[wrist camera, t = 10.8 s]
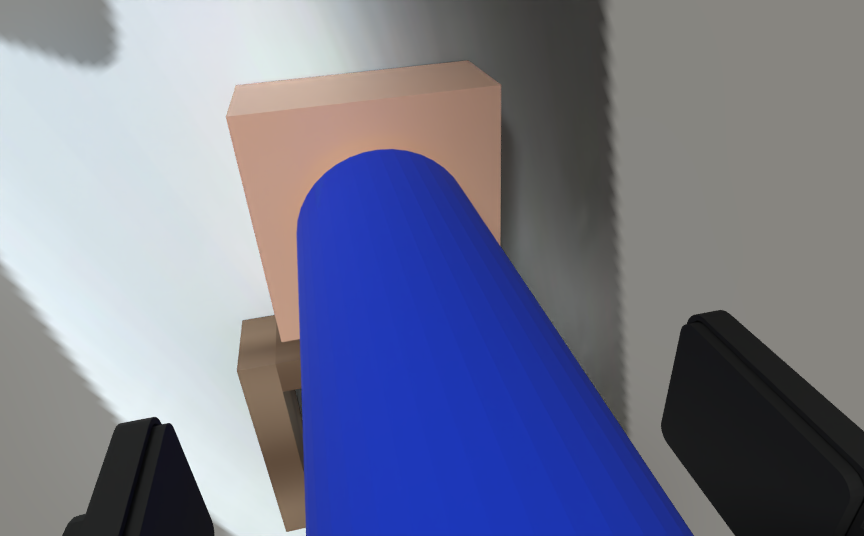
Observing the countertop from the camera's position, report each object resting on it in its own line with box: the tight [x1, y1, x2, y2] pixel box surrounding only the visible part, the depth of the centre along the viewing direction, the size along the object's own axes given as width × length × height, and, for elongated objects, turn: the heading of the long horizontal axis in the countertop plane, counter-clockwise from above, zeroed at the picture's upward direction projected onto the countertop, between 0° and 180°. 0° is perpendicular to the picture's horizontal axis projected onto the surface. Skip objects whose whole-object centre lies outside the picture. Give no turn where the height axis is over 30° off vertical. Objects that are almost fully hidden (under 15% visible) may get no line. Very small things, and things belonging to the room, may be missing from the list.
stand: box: [226, 60, 501, 342], centre depth 19 cm, size 8×8×4 cm
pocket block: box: [237, 315, 306, 532], centre depth 24 cm, size 9×9×3 cm
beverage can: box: [296, 149, 694, 536], centre depth 11 cm, size 5×5×15 cm
